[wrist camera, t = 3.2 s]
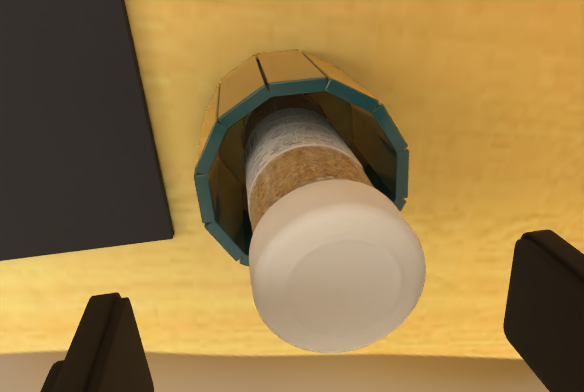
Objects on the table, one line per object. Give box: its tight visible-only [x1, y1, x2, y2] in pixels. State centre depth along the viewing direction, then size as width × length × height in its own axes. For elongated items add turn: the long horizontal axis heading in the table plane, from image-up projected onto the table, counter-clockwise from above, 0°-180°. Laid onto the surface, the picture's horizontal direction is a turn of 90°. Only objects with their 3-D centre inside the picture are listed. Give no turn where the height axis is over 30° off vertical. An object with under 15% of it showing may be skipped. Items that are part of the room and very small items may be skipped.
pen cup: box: [194, 50, 409, 266], centre depth 21 cm, size 8×8×7 cm
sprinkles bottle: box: [241, 94, 426, 353], centre depth 18 cm, size 5×5×14 cm
